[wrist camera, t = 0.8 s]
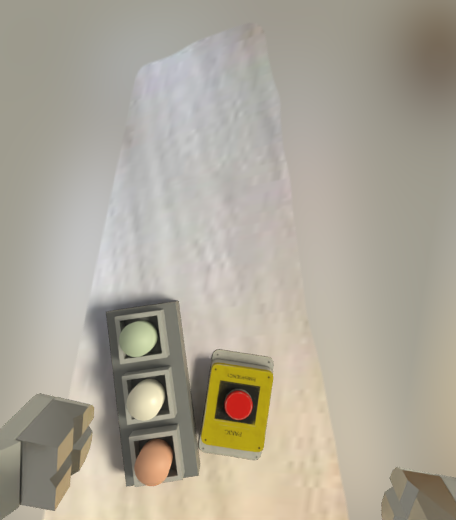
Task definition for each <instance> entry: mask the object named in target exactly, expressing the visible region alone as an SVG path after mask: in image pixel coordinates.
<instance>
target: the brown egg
mask: <svg viewBox="0 0 456 520" xmlns="http://www.w3.org/2000/svg"><path fill="white" fill-rule="evenodd" d="M172 460H173V451H172V448H171V446H170V445H169V444H168V443H167V442H166V441H164V440H161V439H152V440H150V441H148V442H147V443H146V444H145V445H144V446H143V448H142V450H141V452H140V453H139V455H138V457H137V459H136V461H135V465H134V471H135V475H136V477H137V479H138V480H139V481H140V482H141V483H143V484H145V485H147V486H156V485H159V484H160V483H162V482H163V481H164V480H165V479H166V477H167V475H168V473H169V470H170V466H171V463H172Z"/></svg>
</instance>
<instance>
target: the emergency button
mask: <svg viewBox="0 0 456 520" xmlns="http://www.w3.org/2000/svg"><path fill="white" fill-rule="evenodd" d="M273 367H274V364H273V360H272V359H271V358H269V357H265V356H259V355H253V354H246V353H240V352H233V351H227V350H221V349H219V350H216V351H215V352H214V353H213V356H212V362H211V368H210V375H209V381H208V388H207V394H206V401H205V407H204V414H203V420H202V427H201V433H200V440H199V448H200V450H201V451H202V452H205V453H211V454H217V455H224V456H230V457H236V458H243V459H249V460H258V459H259V458H260V456H261V453H262V450H263V448H264V441H265V434H266V427H267V420H268V413H269V406H270V398H271V391H272V384H273Z"/></svg>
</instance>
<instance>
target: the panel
mask: <svg viewBox="0 0 456 520" xmlns="http://www.w3.org/2000/svg"><path fill="white" fill-rule="evenodd" d="M106 316H107V324H108V333H109V342H110V350H111V359H112V368H113V376H114V385H115V393H116V402H117V411H118V419H119V428H120V436H121V445H122V454H123V462H124V471H125V479H126V486H133V485H134V486H135V487H139V486H145V484H143V483H141V482H140V481H139V480H138V479H137V477H136V475H135V471H134V465H135V461H136V459H137V457H138V455H139V453H140V452H141V450H142V448H143V446H144V445H145V444H146V443H147V442H148V441H150V440H152V439H161V440H164V441H166V442H167V443H168V444H169V445H170V446H171V448H172V451H173V460H172V463H171V466H170V470H169V473H168V475H167V477H166V479H165V480H164V481H163V482H162V483H165V482H172V481H178V480H183V478H186V477H193V476H199V469H200V458H199V451H198V443H197V436H196V428H195V421H194V413H193V406H192V398H191V391H190V383H189V375H188V368H187V360H186V353H185V345H184V338H183V330H182V323H181V315H180V308H179V301H175V302H168V303H161V304H154V305H147V306H140V307H133V308H126V309H120V310H113V311H108V312H106ZM140 320H145V321H148V322H150V323H152V324H153V325H154V326H155V328H156V329H157V332H158V340H157V343H156V345H155V346H154V347H153V348H152V349H151V350H150V351H149V352H148V353H146V354H145V355H143V356H140V357H131V356H129V355H127V354H125V353H124V352H123V351H122V349H121V347H120V344H119V337H120V333H121V331H122V330H123V329H124V328H125V327H126V326H127V325H129V324H131V323H134V322H136V321H140ZM145 379H154V380H157V381H158V382H160V383H161V384H162V386H163V387H164V390H165V401H164V403H163V405H162V407H161V408H160V410H159V412H158V414H157V415H156V416H155V417H153V418H152V419H150V420H146V421H141V420H137V419H135V418H134V417H133V416H131V414H130V413H129V411H128V409H127V398H128V395H129V393H130V392H131V391H132V390H133V389H134V388H135V386H136V385H137V384H138V383H139V382H141V381H142V380H145Z"/></svg>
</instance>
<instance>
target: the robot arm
mask: <svg viewBox="0 0 456 520" xmlns="http://www.w3.org/2000/svg"><path fill="white" fill-rule="evenodd" d="M93 418H94V407H93V406H92V405H90V404H86V403H82V402H77V401H73V400H69V399H64V398H60V397H54V396H49V395H45V394H41V393H40V394H37V395H35V396H34V397H32V399H31V400H29V401H28V402H27V403H26V404H25V405H24V406H23V407H22V408H21V410H19V411H18V412H17V413H16V414H15V415H14V416H13V417H12V418H11V419H10V420H9V421H8V422H7V423H6V424H5V425H4V426H3V427H2V428H1V429H0V520H2V519H3V518H4V517H5V516H7V515H9V514H10V513H11V512H13V511H14V510H16V509H17V508H18V507H19V505H25V506H30V507H36V508H41V509H47V510H52V511H55V510H56V508H57V506H58V505H59V503H60V501H61V500H62V498H63V496H64V495H65V493H66V492H67V490H68V488H69V487H70V478H71V475H73V474H75V473H76V472H78V471H79V470H80V468H81V467H82V465H83V463H84V462H85V459H86V457H87V454H88V452H89V449H90V445H91V441H92V430H91V429H90V427H89V424H90V423H91V421H92V420H93ZM390 481H391V483H392V485H393V487H392V488H390V489H389V490H387V491H386V492H385V493H384V496H383V499H382V503H381V507H382V508H381V516H382V520H456V478H454V477H448V476H443V475H438V474H430V473H426V472H420V471H415V470H410V469H405V468H400V467H396V468H395V469H394V470H393V471H392V473H391V476H390Z"/></svg>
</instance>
